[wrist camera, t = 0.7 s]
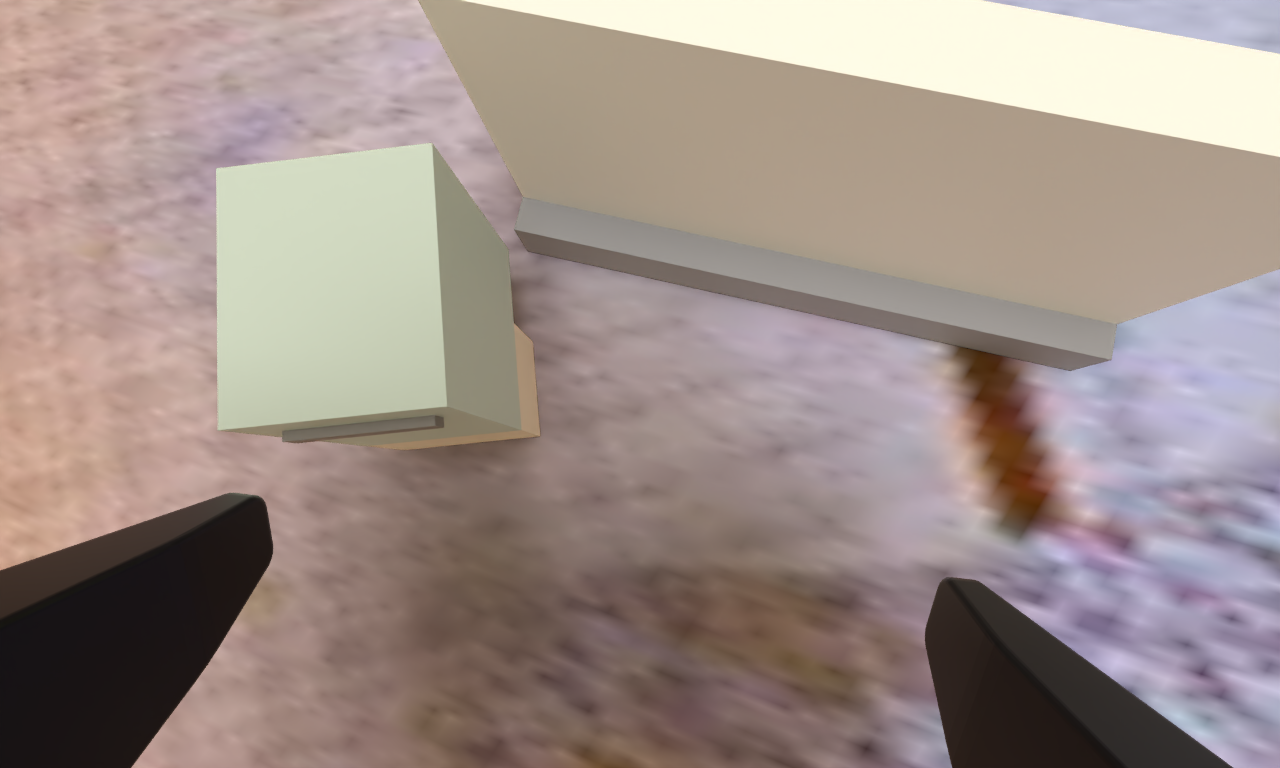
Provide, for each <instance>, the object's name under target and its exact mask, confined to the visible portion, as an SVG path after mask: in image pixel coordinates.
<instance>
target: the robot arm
mask: <svg viewBox="0 0 1280 768" xmlns="http://www.w3.org/2000/svg"><path fill="white" fill-rule="evenodd" d="M272 554H273V541H272V535H271V529H270V524H269V518H268V512H267V506H266V503H265V502H264V500H263V499H262V498H261V497H259V496H257V495H248V494H240V493H228V494H224V495H221V496H218V497H215V498H212V499H209V500H207V501H204V502H201V503H198V504H195V505H192V506H189V507H186V508H183V509H180V510H177V511H174V512H171V513H168V514H165V515H162V516H159V517H156V518H154V519H151V520H148V521H145V522H142V523H139V524H136V525H133V526H130V527H127V528H124V529H121V530H118V531H115V532H112V533H109V534H106V535H103V536H101V537H98V538H95V539H92V540H89V541H86V542H83V543H80V544H77V545H74V546H71V547H68V548H65V549H62V550H59V551H56V552H53V553H50V554H48V555H45V556H42V557H39V558H36V559H33V560H30V561H27V562H24V563H21V564H18V565H15V566H12V567H9V568H6V569H3V570H0V768H131V767H132V766H133V765H134V763H135V762H136V761H137V759H138V758H139V757H140V755H141V754H142V753H143V751H144V750H145V749H146V747H147V746H148V745H149V743H150V742H151V741H152V739H153V738H154V737H155V735H156V734H157V733H158V731H159V730H160V729H161V727H162V726H163V724H164V723H165V722H166V720H167V719H168V718H169V716H170V715H171V714H172V712H173V711H174V710H175V708H176V707H177V706H178V704H179V703H180V702H181V700H182V699H183V698H184V696H185V695H186V694H187V692H188V691H189V690H190V688H191V687H192V686H193V684H194V683H195V682H196V680H197V679H198V677H199V676H200V675H201V673H202V672H203V670H204V669H205V668H206V666H207V665H208V663H209V662H210V660H211V659H212V657H213V655H214V654H215V652H216V651H217V649H218V648H219V646H220V645H221V643H222V641H223V640H224V638H225V636H226V635H227V633H228V631H229V630H230V628H231V627H232V625H233V623H234V622H235V620H236V618H237V617H238V615H239V613H240V612H241V610H242V609H243V607H244V605H245V604H246V602H247V600H248V599H249V597H250V595H251V594H252V592H253V590H254V589H255V587H256V586H257V584H258V582H259V581H260V579H261V577H262V576H263V574H264V572H265V571H266V569H267V567H268V566H269V564H270V561H271V559H272ZM925 645H926V650H927V655H928V659H929V664H930V669H931V674H932V678H933V683H934V688H935V692H936V697H937V702H938V706H939V711H940V716H941V720H942V725H943V730H944V734H945V739H946V744H947V748H948V752H949V756H950V760H951V764H952V768H1233V767H1232V766H1230V765H1229V764H1227V763H1226V762H1225V761H1223V760H1222V759H1221V758H1219V757H1218V756H1217V755H1215V754H1214V753H1212V752H1211V751H1210V750H1208V749H1207V748H1206V747H1204V746H1203V745H1202V744H1200V743H1199V742H1197V741H1196V740H1195V739H1193V738H1192V737H1191V736H1189V735H1188V734H1187V733H1185V732H1184V731H1182V730H1181V729H1180V728H1178V727H1177V726H1176V725H1174V724H1173V723H1172V722H1170V721H1169V720H1167V719H1166V718H1165V717H1163V716H1162V715H1161V714H1159V713H1158V712H1157V711H1155V710H1154V709H1152V708H1151V707H1150V706H1148V705H1147V704H1146V703H1144V702H1143V701H1142V700H1140V699H1139V698H1137V697H1136V696H1135V695H1133V694H1132V693H1131V692H1129V691H1128V690H1127V689H1125V688H1124V687H1122V686H1121V685H1120V684H1118V683H1117V682H1116V681H1114V680H1113V679H1112V678H1110V677H1109V676H1107V675H1106V674H1105V673H1103V672H1102V671H1101V670H1099V669H1098V668H1097V667H1095V666H1094V665H1092V664H1091V663H1090V662H1088V661H1087V660H1086V659H1084V658H1083V657H1082V656H1080V655H1079V654H1077V653H1076V652H1075V651H1073V650H1072V649H1071V648H1069V647H1068V646H1067V645H1065V644H1064V643H1062V642H1061V641H1060V640H1058V639H1057V638H1056V637H1054V636H1053V635H1052V634H1050V633H1049V632H1047V631H1046V630H1045V629H1043V628H1042V627H1041V626H1039V625H1038V624H1037V623H1035V622H1034V621H1032V620H1031V619H1030V618H1028V617H1027V616H1026V615H1024V614H1023V613H1022V612H1020V611H1019V610H1017V609H1016V608H1015V607H1013V606H1012V605H1011V604H1009V603H1008V602H1007V601H1005V600H1004V599H1002V598H1001V597H1000V596H998V595H997V594H996V593H994V592H993V591H992V590H990V589H989V588H987V587H986V586H985V585H983V584H982V583H980V582H979V581H976V580H971V579H962V578H953V577H946V578H945V579H943V580H942V581H941V582H940V584H939V586H938V589H937V592H936V595H935V599H934V602H933V605H932V608H931V612H930V615H929V618H928V622H927V625H926V630H925Z"/></svg>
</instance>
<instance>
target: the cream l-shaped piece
mask: <svg viewBox="0 0 1280 768" xmlns="http://www.w3.org/2000/svg"><path fill="white" fill-rule="evenodd" d="M418 1H419V3H420V5H421V7H422V8H423V10H424V12H425V14H426V16H427V18H428V20H429V22H430V23H431V25H432V27H433V29H434V31H435V33H436V35H437V37H438V38H439V40H440V42H441V44H442V46H443V48H444V50H445V52H446V53H447V55H448V57H449V59H450V61H451V63H452V65H453V67H454V68H455V70H456V72H457V74H458V76H459V78H460V80H461V82H462V83H463V85H464V87H465V89H466V91H467V93H468V95H469V97H470V99H471V100H472V102H473V104H474V106H475V108H476V110H477V112H478V114H479V115H480V117H481V119H482V121H483V123H484V125H485V127H486V129H487V130H488V132H489V134H490V136H491V138H492V140H493V142H494V144H495V145H496V147H497V149H498V151H499V153H500V155H501V157H502V159H503V160H504V162H505V164H506V166H507V168H508V170H509V172H510V174H511V175H512V177H513V179H514V181H515V183H516V185H517V187H518V189H519V190H520V192H521V194H522V196H523V199H522V203H521V206H520V210H519V213H518V217H517V221H516V224H515V228H514V230H515V232H516V233H517V235H518V236H519V238H520V240H521V241H522V243H523V244H524V246H525V247H526V249H527V251H530V252H534V253H539V254H543V255H548V256H553V257H557V258H562V259H566V260H571V261H575V262H580V263H584V264H589V265H593V266H598V267H602V268H607V269H611V270H616V271H620V272H625V273H630V274H634V275H639V276H643V277H648V278H652V279H657V280H661V281H666V282H670V283H675V284H679V285H684V286H688V287H693V288H698V289H702V290H707V291H711V292H716V293H720V294H725V295H729V296H734V297H738V298H743V299H747V300H752V301H756V302H761V303H766V304H770V305H775V306H779V307H784V308H788V309H793V310H797V311H802V312H806V313H811V314H815V315H820V316H824V317H829V318H834V319H838V320H843V321H847V322H852V323H856V324H861V325H865V326H870V327H874V328H879V329H883V330H888V331H892V332H897V333H902V334H906V335H911V336H915V337H920V338H924V339H929V340H933V341H938V342H942V343H947V344H951V345H956V346H960V347H965V348H970V349H974V350H979V351H983V352H988V353H992V354H997V355H1001V356H1006V357H1010V358H1015V359H1019V360H1024V361H1028V362H1033V363H1038V364H1042V365H1047V366H1051V367H1056V368H1060V369H1065V370H1069V371H1071V370H1075V369H1079V368H1083V367H1087V366H1090V365H1094V364H1098V363H1102V362H1106V361H1109V360H1112V354H1113V347H1114V341H1115V334H1116V328H1117V324H1119V323H1122V322H1125V321H1128V320H1131V319H1134V318H1137V317H1140V316H1143V315H1146V314H1148V313H1151V312H1154V311H1157V310H1160V309H1163V308H1166V307H1169V306H1172V305H1175V304H1178V303H1181V302H1184V301H1187V300H1190V299H1193V298H1195V297H1198V296H1201V295H1204V294H1207V293H1210V292H1213V291H1216V290H1219V289H1222V288H1225V287H1228V286H1231V285H1234V284H1237V283H1240V282H1243V281H1245V280H1248V279H1251V278H1254V277H1257V276H1260V275H1263V274H1266V273H1269V272H1272V271H1275V270H1278V269H1280V54H1277V53H1271V52H1266V51H1260V50H1255V49H1249V48H1243V47H1238V46H1232V45H1227V44H1221V43H1216V42H1210V41H1205V40H1199V39H1193V38H1188V37H1182V36H1177V35H1171V34H1166V33H1160V32H1154V31H1149V30H1143V29H1138V28H1132V27H1127V26H1121V25H1115V24H1110V23H1104V22H1099V21H1093V20H1088V19H1082V18H1076V17H1071V16H1065V15H1060V14H1054V13H1049V12H1043V11H1037V10H1032V9H1026V8H1021V7H1015V6H1010V5H1004V4H999V3H993V2H987V1H982V0H418Z"/></svg>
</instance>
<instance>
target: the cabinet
mask: <svg viewBox="0 0 1280 768" xmlns="http://www.w3.org/2000/svg"><path fill="white" fill-rule="evenodd" d="M216 198H217V381H218V431H228V432H237V433H247V434H256V435H266V436H275V437H282V442H290V443H303V442H313V441H323V442H332V443H341V444H351V445H360V446H370V447H379V448H389V449H398V450H411V449H421V448H431V447H440V446H450V445H460V444H469V443H479V442H489V441H498V440H508V439H518V438H528V437H537V436H540V426H539V413H538V400H537V387H536V374H535V361H534V348H533V341H532V340H531V339H530V338H529V337H528V336H527V335H525V334H524V333H523V332H522V331H521V330H520V329H519V328H518V327H517V326H516V325H515V324H514V320H513V306H512V292H511V278H510V265H509V251H508V248H507V247H506V245H505V244H504V243H503V241H502V240H501V238H500V237H499V236H498V234H497V233H496V231H495V230H494V229H493V227H492V226H491V224H490V223H489V222H488V220H487V219H486V217H485V216H484V215H483V213H482V212H481V210H480V209H479V208H478V206H477V205H476V203H475V202H474V201H473V199H472V198H471V196H470V195H469V194H468V192H467V191H466V190H465V188H464V187H463V185H462V184H461V183H460V181H459V180H458V178H457V177H456V176H455V174H454V173H453V171H452V170H451V169H450V167H449V166H448V164H447V163H446V162H445V160H444V159H443V157H442V156H441V155H440V153H439V152H438V150H437V149H436V148H435V146H434V145H433V143H427V144H418V145H410V146H402V147H393V148H385V149H376V150H368V151H359V152H351V153H343V154H334V155H326V156H317V157H309V158H301V159H292V160H284V161H275V162H267V163H258V164H250V165H242V166H233V167H225V168H216Z"/></svg>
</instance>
